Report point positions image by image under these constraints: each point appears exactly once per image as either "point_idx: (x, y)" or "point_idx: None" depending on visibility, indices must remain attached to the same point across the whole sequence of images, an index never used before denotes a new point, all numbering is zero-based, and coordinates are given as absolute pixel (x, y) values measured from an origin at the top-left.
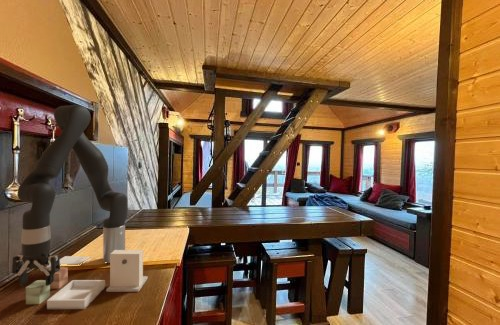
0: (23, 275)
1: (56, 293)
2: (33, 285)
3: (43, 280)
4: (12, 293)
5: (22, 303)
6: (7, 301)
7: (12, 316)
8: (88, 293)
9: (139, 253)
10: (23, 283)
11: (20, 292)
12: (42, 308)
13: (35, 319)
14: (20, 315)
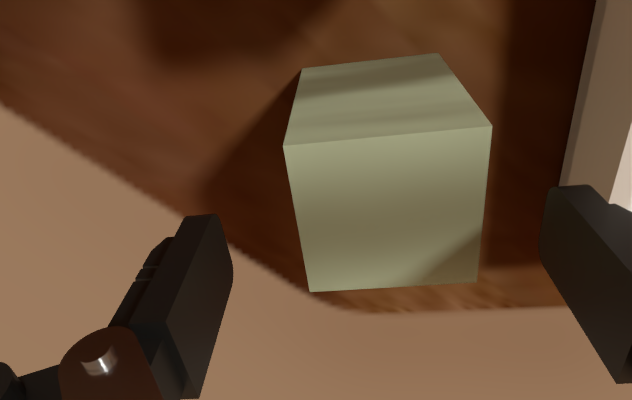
0: (192, 370)
1: (624, 181)
2: (364, 255)
3: (392, 141)
4: (6, 54)
5: (278, 176)
6: (123, 165)
7: (354, 289)
8: None
9: None
10: (225, 273)
11: (61, 28)
12: (502, 215)
13: (534, 302)
14: None
